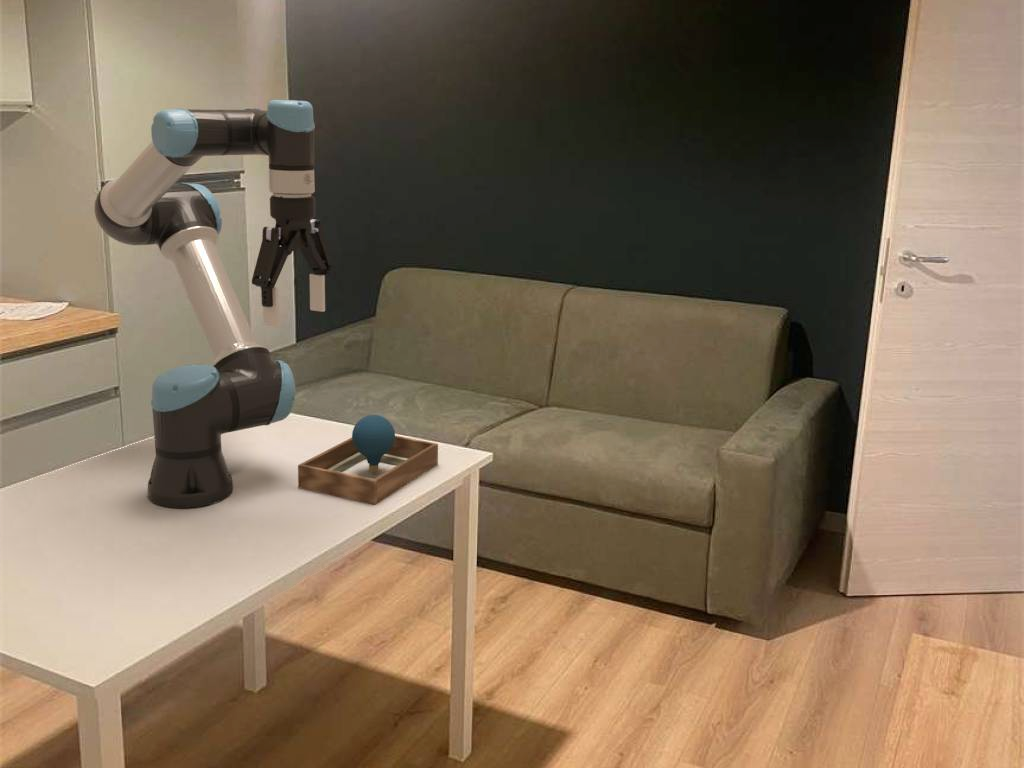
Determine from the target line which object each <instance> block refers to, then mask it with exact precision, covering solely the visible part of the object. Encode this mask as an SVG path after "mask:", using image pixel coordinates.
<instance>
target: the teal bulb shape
mask: <svg viewBox="0 0 1024 768" xmlns="http://www.w3.org/2000/svg"><path fill="white" fill-rule="evenodd" d="M353 426H354V427H353V430H352V432H351V438H352V441H353V444H354V446H355V448H356V449H357V450H358V451H359V452H360V453H361V454H362V455H364V456H365V457H366V458H367V459H366V462H367V464H368V472H369V473H370V474H373V475H374V474H378V472H379V464H380V463H381V462H380V460H381V457H382V456H383V455H384V454H386V453H387V452H388V451H389V450H390V449H391V448H392V446H393V444H394V441H395V436H396V431H395V428H394V426H393V425H392V423H391V422H390V421H389V419H387V418H386V417H384V416H382V415H379V414H368V415H365V416H363V417H362V418H360V419H359V420H358V421H357V422H356V423H355V425H353Z"/></svg>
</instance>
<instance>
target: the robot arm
mask: <svg viewBox="0 0 1024 768" xmlns="http://www.w3.org/2000/svg"><path fill="white" fill-rule="evenodd" d="M266 108H267V109H266V110H265V109H264V110H263V109H260V108H242V109H199V108H197V109H194V108H193V109H189V108H188V109H186V108H181V107H180V108H174V109H162V110H160V111H158V112H156V114H155V115H154V116H153V119H152V120H153V122H152V124H151V126H150V128H151V130H150V131H151V134H150V135H151V139H152V140H151V142H150V143H148V145H147V146H146V147H145V148H144V149H143V151H142V152H141V153H140V154H139V155H138V156H137V157H136V158H135V160H134V161H132V163H131V164H130V165H129V166H128V167H127V169H126V170H125V171H123V173H122V174H121V175H120V176H119V177H117V178H114V179H111V180H109V181H107V182H106V183H105V184H104V186H103V187H101V189H100V190H99V192H98V193H97V195H96V198H95V201H94V210H93V211H94V215H95V219H96V222H97V223H98V225H99V227H100V229H102V230H103V232H104V233H105V234H107V235H108V236H109V237H110V238H112V239H113V240H115V241H117V242H118V243H122V244H124V245H129V246H150V245H157V246H158V249H159V251H160V254H161V255H162V256H163V258H165V260H168V261H170V262H173V264H174V266H175V269H176V271H177V273H178V275H179V279H180V281H181V283H182V286H183V288H184V291H185V292H186V295H187V298H188V299H189V302H190V305H191V307H192V310H193V311H194V314H195V317H196V319H197V323H198V325H199V326H200V329H201V331H202V334H203V336H204V338H205V341H206V343H207V346H208V348H209V350H210V353H211V355H212V357H213V360H214V362H213V364H212V365H211V364H202V363H199V364H197V363H196V364H195V365H192V364H188V365H181V366H177V367H174V368H171V369H168V370H165V371H164V372H162V373H160V374H159V375H158V376H157V377H156V378H155V379H154V381H153V383H152V386H151V402H150V405H151V408H152V422H153V434H154V436H153V437H154V446H155V449H154V450H155V451H154V452H155V457H154V461H153V465H152V467H151V472H150V475H149V476H150V477H149V479H148V481H147V497H148V499H149V500H150V502H152V503H154V504H156V505H158V506H162V507H168V508H174V509H175V508H177V509H178V508H180V509H181V508H182V509H184V508H185V509H187V508H197V507H198V508H199V507H203V506H210V505H213V504H217V503H219V502H221V501H223V500H225V499H227V498H228V497H230V496H231V495H232V494H233V491H234V484H233V483H234V482H233V481H234V480H233V476H232V474H231V472H230V471H229V470H228V466H227V463H226V459H225V456H224V454H223V451H222V435H223V434H228V433H232V432H237V431H243V430H248V429H251V428H256V427H261V426H270V425H271V424H274V423H278V422H281V421H284V420H285V419H287V417H289V415H290V414H291V412H292V410H293V408H294V404H295V401H296V398H295V397H296V383H295V378H294V375H293V371H292V369H291V367H290V365H289V364H287V363H286V361H283V360H279V359H277V360H276V359H275V360H274V359H273V357H272V355H271V353H270V351H269V349H268V347H266V346H264V345H261V344H258V343H257V341H256V338H255V336H254V334H253V332H252V329H251V327H250V324H249V322H248V320H247V317H246V315H245V313H244V311H243V308H242V306H241V304H240V301H239V299H238V296H237V295H236V292H235V289H234V288H233V285H232V281H231V280H230V278H229V275H228V273H227V271H226V269H225V266H224V264H223V261H222V260H221V258H220V255H219V253H218V252H219V251H217V248H216V245H217V243H218V241H219V237H220V236H219V235H220V233H221V230H222V226H223V225H222V224H223V220H222V217H221V215H220V214H222V213H221V212H222V211H221V208H220V205H219V203H218V200H217V198H216V197H215V195H214V194H213V193H212V191H211V190H210V189H209V188H207V187H206V186H204V185H202V184H198V183H188V182H179V181H180V179H182V178H183V176H184V175H186V174H187V173H188V171H189V170H191V168H192V167H193V166H194V165H195V164H197V162H199V161H200V160H201V159H202V158H204V157H212V156H213V157H215V156H217V157H218V156H219V157H220V156H251V155H252V156H254V155H256V156H257V155H258V156H268V189H269V192H270V193H271V194H272V195H271V196H270V197H269V212H270V213H269V214H270V217H271V218H272V219H274V220H275V225H274V227H273V226H264V227H263V228H262V236H261V237H262V240H261V245H260V248H259V252H258V255H257V259H256V264H255V267H254V271H253V273H252V278H251V284H252V285H254V286H256V287H258V288H259V287H260V289H261V290H260V291H261V306H262V316H263V318H262V320H263V321H262V322H263V323H262V324H263V325H266V326H272V327H279V326H280V305H279V304H280V303H279V302H280V301H279V297H280V296H279V287H277V286H276V284H277V282H278V279H279V277H280V274H281V272H282V270H283V268H284V266H285V264H286V261H287V259H288V256H290V255H291V254H292V253H293V252H296V251H298V250H299V251H300V253H301V255H302V256H303V258H304V260H305V261H306V263H307V265H308V267H309V268H310V269H311V271H312V273H310V274H309V309H310V311H315V312H323V313H324V312H325V311H326V275H327V276H330V275H331V274H332V269H333V268H334V265H333V264H334V263H333V261H332V260H333V259H332V257H331V255H330V251H329V248H328V244H327V242H326V239H325V238H326V237H325V235H324V232H323V231H324V230H323V222H322V220H320V219H314V218H316V198H315V197H314V196H313V195H312V194H314V193H315V192H316V189H315V128H316V125H315V121H314V107H313V105H312V104H311V103H310V102H309V101H306V100H295V99H292V100H291V99H289V100H288V99H272V100H270V101H268V104H267V107H266ZM177 182H178V183H177Z"/></svg>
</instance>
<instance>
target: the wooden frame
mask: <svg viewBox="0 0 1024 768" xmlns="http://www.w3.org/2000/svg"><path fill="white" fill-rule="evenodd" d="M364 460H367V458H366V457H365V456H364V455H362V454H361V453H360V452H359V451H358V450H357V449H356V448H355V446H354V444H353V441H352V437H350V438H348V439H346V440H344V441H342V442H341V443H338V444H336V445H335V446H333V447H330V448H328V449H327V450H325V451H323V452H320V453H319V454H317V455H315V456H313V457H312V458H309V459H307V460H305V461H304V462H301V463H299V464H298V465H297V479H298V481H297V483H298V484H297V485H298V488H299V489H303V490H308V491H313V492H316V493H322V494H326V495H331V496H334V497H335V496H336V497H339V498H344V499H348V500H353V501H357V502H362V503H366V504H371V505H377V504H378V503H379V502H381V501H383V500H384V499H386V498H387V497H389V496H391V495H392V494H394V493H396V492H397V491H399V490H400V489H402V488H403V487H405V486H406V485H408V484H410V483H411V482H413V481H414V480H416V479H418V478H419V477H421V476H422V475H424V474H425V473H427V472H429V471H430V470H432V469H433V468H435V467H436V466H438V464H439V443H436V442H431V441H426V440H422V439H421V440H420V439H415V438H411V437H410V438H409V437H404V436H400V435H395V441H394V444H393V446H392V448H391V449H390V450H389V451H388V452H387V453H386V454H384V455H383V456H382V457H381V460H380V463H384V464H389V465H393V467H392V468H391V469H389V470H387V471H386V472H384V473H382V474H380V475H379V476H377V477H375V478H370V477H366V476H361V475H356V474H353V473H352V474H351V473H347V472H344V471H346V470H348V469H349V468H351V467H354V465H356V464H359V463H360V462H362V461H364ZM434 466H435V467H434ZM431 468H432V469H431ZM426 471H427V472H426ZM424 472H425V473H424ZM423 473H424V474H423ZM420 475H421V476H420ZM418 476H419V477H418ZM415 478H416V479H415ZM412 480H413V481H412ZM410 481H411V482H410ZM409 482H410V483H409ZM407 483H408V484H407ZM404 485H405V486H404ZM401 487H402V488H401ZM398 489H399V490H398ZM396 490H397V491H396Z"/></svg>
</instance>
